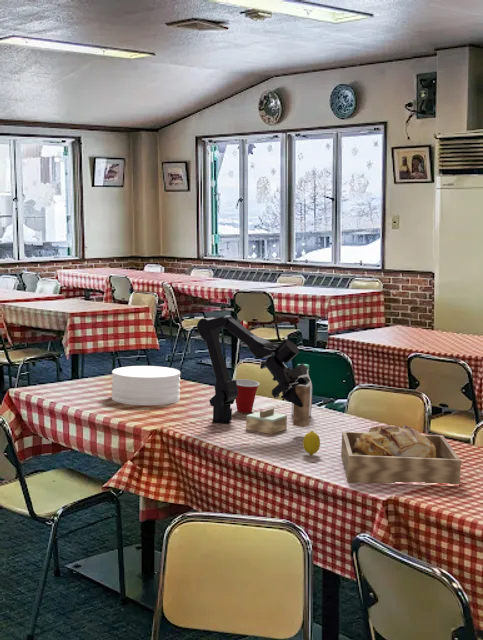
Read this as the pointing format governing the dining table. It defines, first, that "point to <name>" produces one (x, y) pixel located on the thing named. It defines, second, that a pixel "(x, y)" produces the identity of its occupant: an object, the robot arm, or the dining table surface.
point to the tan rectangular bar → (302, 412)
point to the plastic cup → (246, 395)
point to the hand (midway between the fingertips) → (305, 405)
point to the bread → (394, 443)
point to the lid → (267, 415)
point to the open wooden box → (266, 425)
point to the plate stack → (145, 385)
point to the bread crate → (400, 464)
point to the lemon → (311, 443)
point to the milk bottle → (310, 391)
